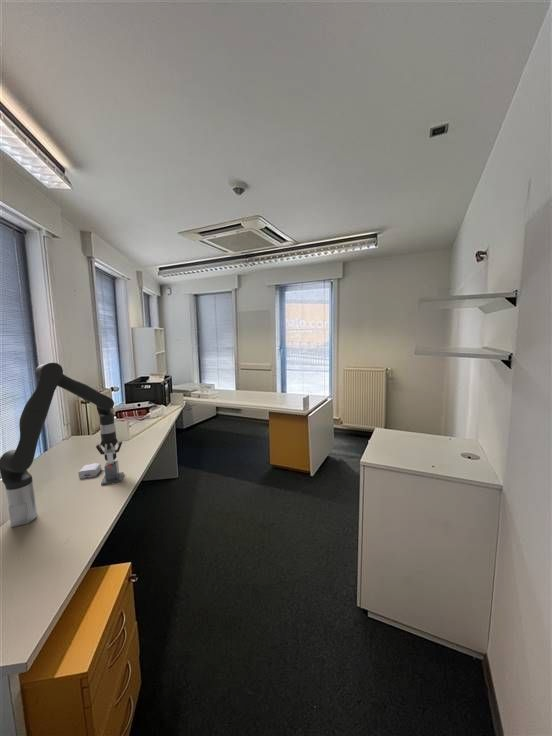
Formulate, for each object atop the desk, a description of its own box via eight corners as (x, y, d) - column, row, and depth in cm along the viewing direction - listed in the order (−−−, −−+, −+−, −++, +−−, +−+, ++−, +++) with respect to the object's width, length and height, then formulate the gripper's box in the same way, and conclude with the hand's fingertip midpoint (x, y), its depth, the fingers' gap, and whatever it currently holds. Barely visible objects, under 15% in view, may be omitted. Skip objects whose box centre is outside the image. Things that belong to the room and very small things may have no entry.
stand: (121, 482, 165) (119, 465, 164) (101, 485, 162) (99, 468, 160) (123, 474, 174) (122, 458, 173) (105, 477, 171) (103, 461, 170)
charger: (104, 466, 187) (96, 476, 173) (88, 468, 185) (79, 479, 171) (103, 459, 187) (95, 469, 172) (87, 461, 184) (78, 471, 170)
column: (115, 476, 167) (112, 448, 165) (109, 478, 166) (106, 449, 164) (116, 474, 170) (113, 447, 168) (110, 475, 169) (107, 447, 167)
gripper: (92, 435, 159) (95, 464, 161) (120, 431, 163) (123, 460, 165) (95, 430, 166) (98, 459, 168) (122, 427, 170) (125, 455, 172)
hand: (111, 459), depth 166 cm, fingers closed on column, 3 cm apart
